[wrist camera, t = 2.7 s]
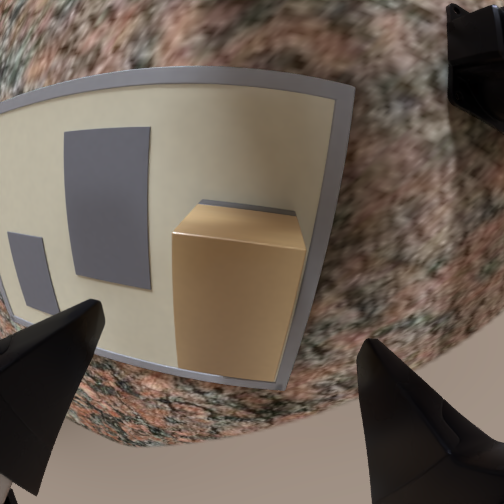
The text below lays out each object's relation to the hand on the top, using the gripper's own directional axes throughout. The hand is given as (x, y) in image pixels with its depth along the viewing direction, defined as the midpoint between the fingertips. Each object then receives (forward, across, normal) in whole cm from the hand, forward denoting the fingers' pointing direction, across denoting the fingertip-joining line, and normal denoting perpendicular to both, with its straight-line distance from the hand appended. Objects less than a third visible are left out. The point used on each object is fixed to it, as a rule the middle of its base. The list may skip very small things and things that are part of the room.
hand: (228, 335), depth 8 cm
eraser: (+5, 0, 0) cm, 5 cm away
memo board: (+6, +8, 0) cm, 10 cm away
